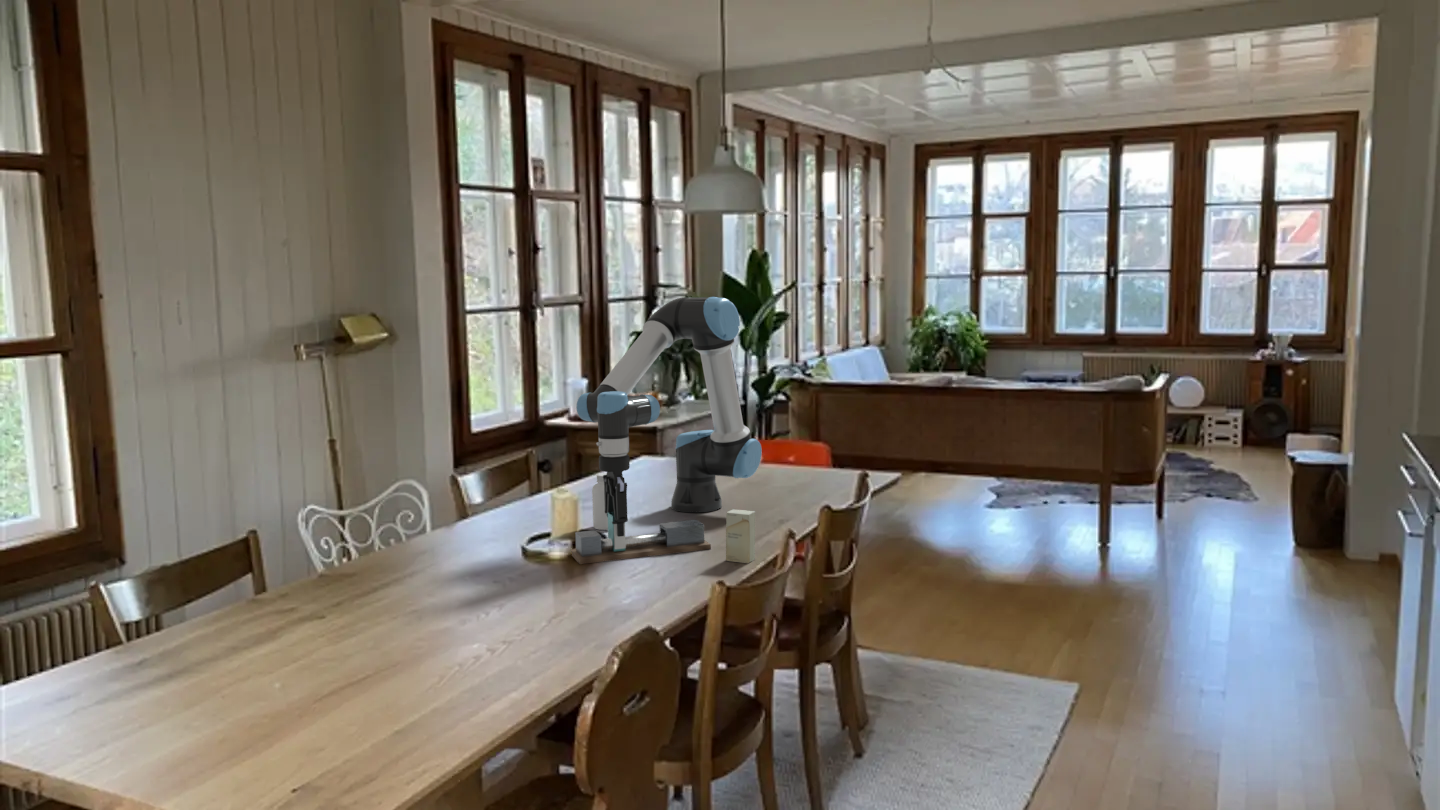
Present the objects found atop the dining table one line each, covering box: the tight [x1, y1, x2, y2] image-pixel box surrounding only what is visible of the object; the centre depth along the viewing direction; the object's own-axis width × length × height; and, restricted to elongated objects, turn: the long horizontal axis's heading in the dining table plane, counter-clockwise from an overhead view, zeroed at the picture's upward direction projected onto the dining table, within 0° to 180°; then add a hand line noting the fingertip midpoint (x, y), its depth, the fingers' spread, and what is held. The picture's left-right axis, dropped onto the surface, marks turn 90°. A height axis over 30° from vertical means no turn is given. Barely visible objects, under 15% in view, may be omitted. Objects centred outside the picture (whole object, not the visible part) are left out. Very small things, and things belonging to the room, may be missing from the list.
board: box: [570, 539, 712, 565], centre depth 263 cm, size 34×10×1 cm, turn 111°
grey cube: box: [575, 529, 602, 557], centre depth 258 cm, size 5×6×5 cm
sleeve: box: [659, 519, 705, 547], centre depth 267 cm, size 10×6×5 cm, turn 111°
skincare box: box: [725, 508, 756, 564], centre depth 253 cm, size 6×4×12 cm
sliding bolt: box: [601, 512, 666, 552], centre depth 261 cm, size 23×5×9 cm, turn 111°
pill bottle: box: [591, 472, 608, 531], centre depth 289 cm, size 8×8×15 cm
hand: (616, 545), depth 261 cm, fingers closed on sliding bolt, 5 cm apart
